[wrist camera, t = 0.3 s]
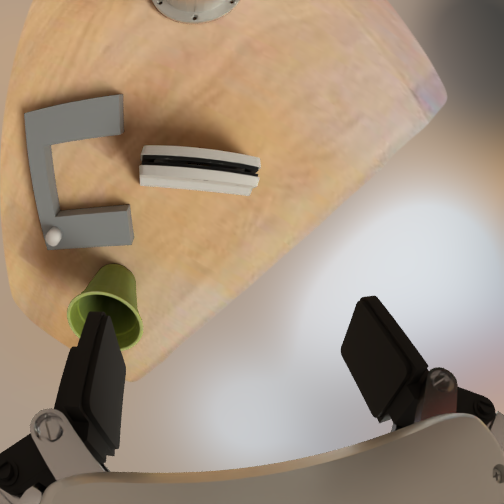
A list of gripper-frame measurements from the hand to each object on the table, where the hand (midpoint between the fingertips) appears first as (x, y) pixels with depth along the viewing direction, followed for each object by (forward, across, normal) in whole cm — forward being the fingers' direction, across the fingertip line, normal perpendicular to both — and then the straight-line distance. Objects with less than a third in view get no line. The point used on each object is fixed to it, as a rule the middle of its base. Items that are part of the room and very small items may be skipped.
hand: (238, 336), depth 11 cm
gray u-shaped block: (+35, +19, +2) cm, 40 cm away
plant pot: (+36, +15, +21) cm, 44 cm away
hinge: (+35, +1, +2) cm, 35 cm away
